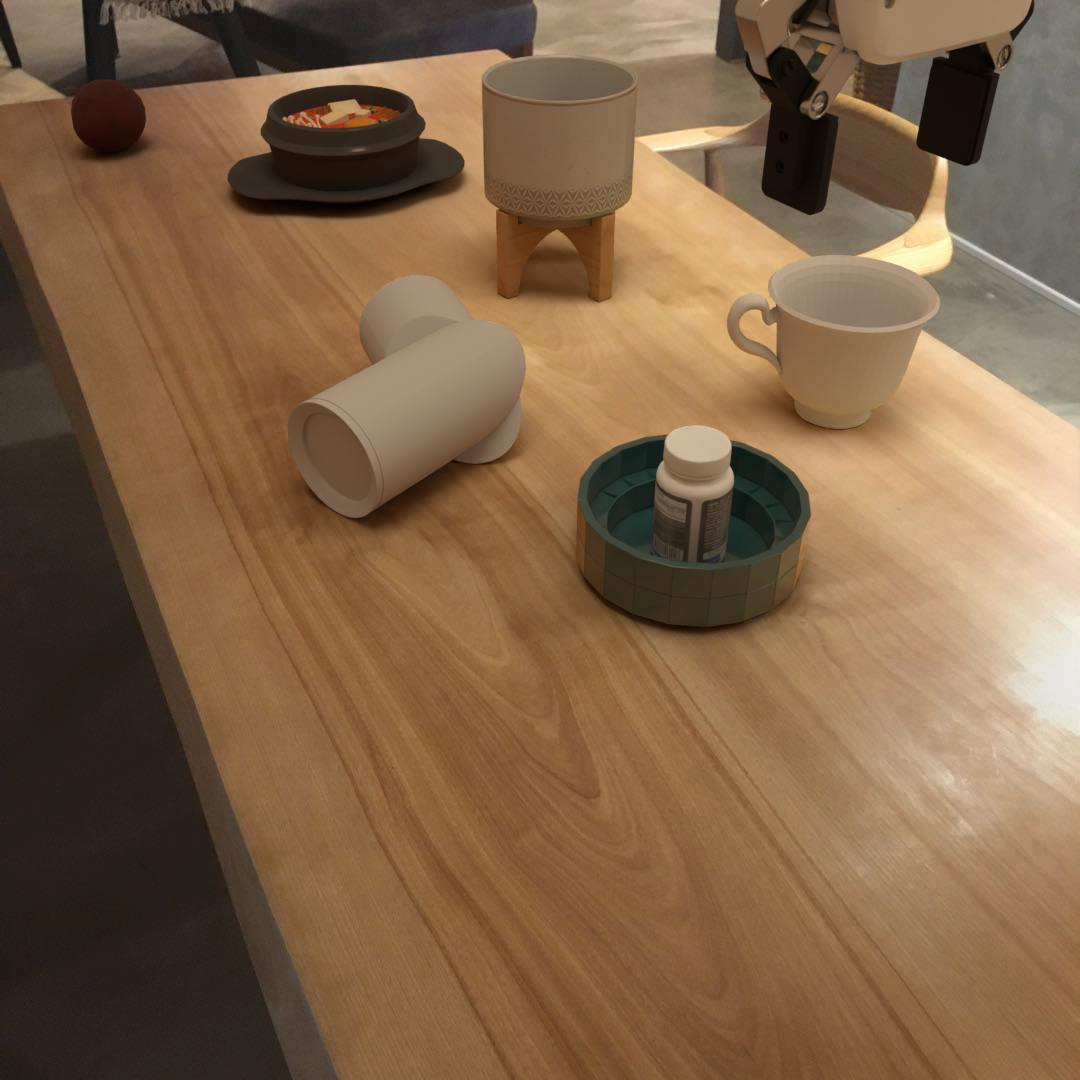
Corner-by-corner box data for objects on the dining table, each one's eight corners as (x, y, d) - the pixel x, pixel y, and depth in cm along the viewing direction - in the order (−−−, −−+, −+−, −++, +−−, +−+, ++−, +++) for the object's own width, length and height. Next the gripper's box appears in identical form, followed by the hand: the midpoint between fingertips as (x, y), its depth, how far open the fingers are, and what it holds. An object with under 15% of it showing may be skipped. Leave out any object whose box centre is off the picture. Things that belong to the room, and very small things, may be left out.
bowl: (846, 585, 74) (859, 521, 71) (658, 664, 68) (664, 598, 65) (710, 473, 83) (716, 412, 80) (536, 534, 78) (536, 471, 75)
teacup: (701, 375, 94) (713, 258, 88) (883, 367, 95) (907, 250, 89) (734, 459, 85) (750, 334, 79) (936, 449, 86) (966, 325, 80)
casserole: (241, 233, 116) (227, 148, 111) (221, 167, 130) (208, 89, 125) (485, 203, 122) (483, 122, 117) (441, 144, 136) (438, 68, 131)
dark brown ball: (167, 139, 137) (153, 70, 132) (127, 167, 130) (111, 96, 125) (104, 133, 138) (88, 65, 134) (61, 161, 131) (43, 90, 126)
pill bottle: (719, 529, 77) (732, 420, 72) (730, 575, 73) (745, 463, 68) (646, 530, 77) (654, 421, 72) (654, 576, 73) (663, 465, 68)
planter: (458, 272, 109) (449, 73, 98) (562, 235, 116) (565, 45, 105) (550, 321, 101) (552, 112, 90) (656, 278, 108) (670, 79, 97)
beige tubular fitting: (585, 475, 81) (490, 344, 95) (554, 347, 74) (457, 227, 88) (343, 577, 78) (283, 425, 93) (288, 454, 71) (233, 312, 86)
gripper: (867, -289, 35) (790, 257, 45) (1199, -303, 42) (1067, 164, 53) (698, -300, 39) (664, 195, 50) (1025, -311, 47) (935, 118, 58)
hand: (872, 179), depth 51 cm, fingers open, 9 cm apart
